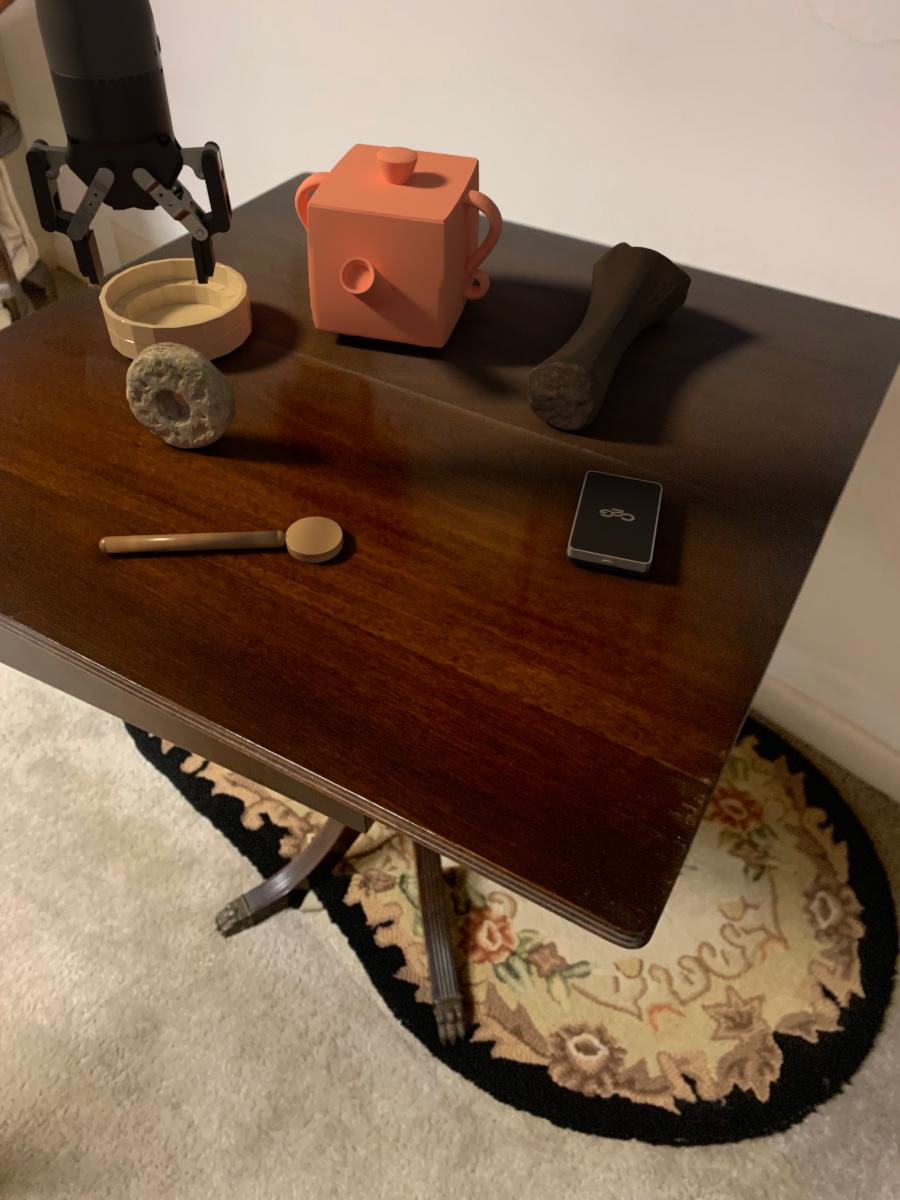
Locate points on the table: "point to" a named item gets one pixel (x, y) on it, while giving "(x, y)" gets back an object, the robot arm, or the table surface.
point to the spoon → (242, 541)
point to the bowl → (176, 308)
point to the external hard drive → (615, 523)
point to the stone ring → (191, 379)
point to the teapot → (396, 243)
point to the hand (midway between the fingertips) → (151, 279)
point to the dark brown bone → (605, 333)
